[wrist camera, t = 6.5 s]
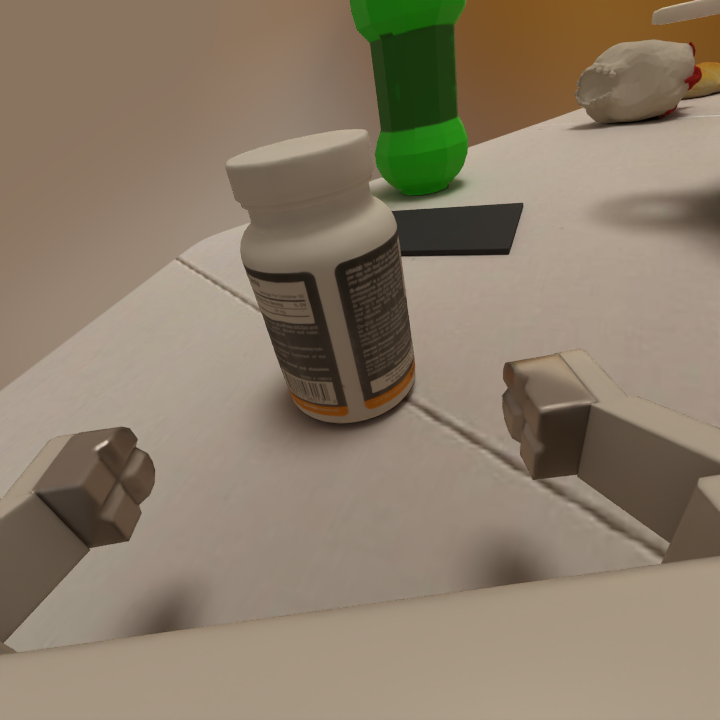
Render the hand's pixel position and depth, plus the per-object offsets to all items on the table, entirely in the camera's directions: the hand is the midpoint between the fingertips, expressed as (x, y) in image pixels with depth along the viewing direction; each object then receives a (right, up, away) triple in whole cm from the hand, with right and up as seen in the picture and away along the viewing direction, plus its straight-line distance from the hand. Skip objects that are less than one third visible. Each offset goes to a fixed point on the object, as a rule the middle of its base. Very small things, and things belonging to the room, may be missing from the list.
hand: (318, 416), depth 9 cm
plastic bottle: (+8, +20, +37) cm, 43 cm away
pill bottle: (+1, 0, +10) cm, 10 cm away
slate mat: (+4, +12, +26) cm, 29 cm away
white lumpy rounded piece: (+40, +34, +48) cm, 71 cm away
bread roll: (+53, +43, +56) cm, 88 cm away
